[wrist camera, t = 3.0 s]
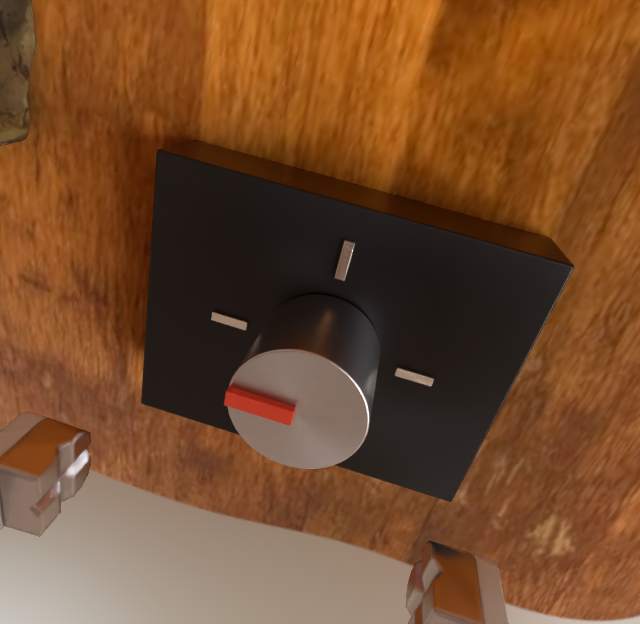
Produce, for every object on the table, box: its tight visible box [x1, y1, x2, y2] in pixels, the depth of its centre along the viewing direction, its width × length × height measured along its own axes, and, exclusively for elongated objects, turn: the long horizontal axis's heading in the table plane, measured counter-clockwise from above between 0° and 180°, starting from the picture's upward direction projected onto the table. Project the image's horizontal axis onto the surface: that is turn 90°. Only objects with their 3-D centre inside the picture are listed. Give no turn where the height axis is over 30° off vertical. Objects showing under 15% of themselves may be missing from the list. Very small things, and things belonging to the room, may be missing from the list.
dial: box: [224, 294, 380, 469], centre depth 16 cm, size 4×4×4 cm
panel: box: [141, 140, 574, 502], centre depth 19 cm, size 14×11×3 cm
